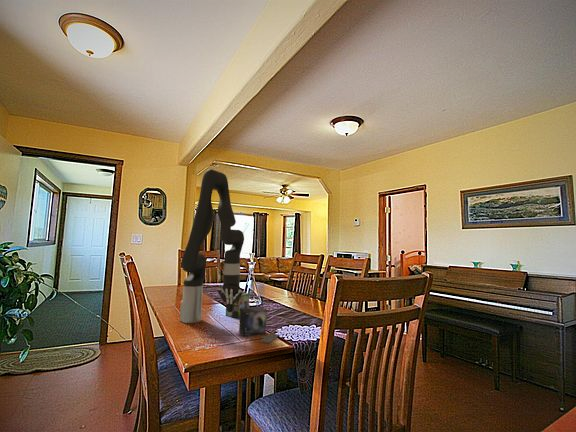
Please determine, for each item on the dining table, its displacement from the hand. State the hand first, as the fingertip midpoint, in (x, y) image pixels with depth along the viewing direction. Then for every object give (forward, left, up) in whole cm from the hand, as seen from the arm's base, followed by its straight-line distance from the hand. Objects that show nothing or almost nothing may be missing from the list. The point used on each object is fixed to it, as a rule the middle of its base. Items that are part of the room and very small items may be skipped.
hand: (230, 311), depth 139 cm
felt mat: (+21, -4, -8) cm, 23 cm away
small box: (+12, -1, -8) cm, 14 cm away
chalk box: (-9, +24, -8) cm, 27 cm away
